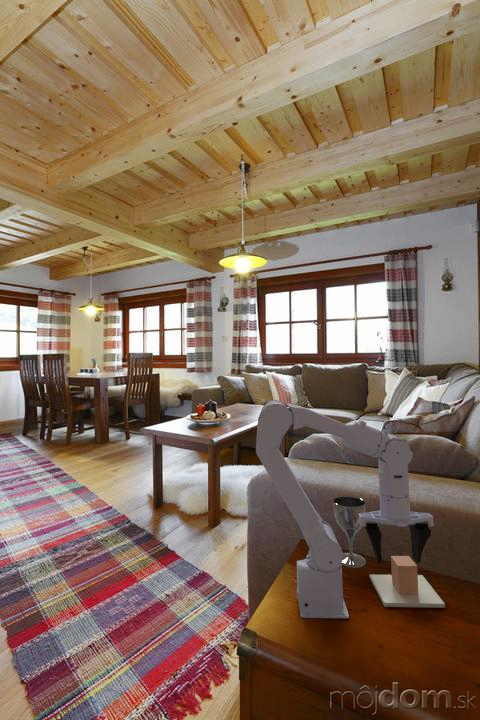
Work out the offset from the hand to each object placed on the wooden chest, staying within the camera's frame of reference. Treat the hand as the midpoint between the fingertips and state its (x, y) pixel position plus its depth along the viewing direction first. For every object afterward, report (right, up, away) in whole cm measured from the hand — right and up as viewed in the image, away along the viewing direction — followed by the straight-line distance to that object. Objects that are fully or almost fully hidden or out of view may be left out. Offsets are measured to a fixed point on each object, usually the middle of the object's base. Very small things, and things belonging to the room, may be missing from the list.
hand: (397, 560), depth 71 cm
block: (+4, -9, +4) cm, 10 cm away
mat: (+4, -10, +4) cm, 11 cm away
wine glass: (-4, -11, +18) cm, 21 cm away
